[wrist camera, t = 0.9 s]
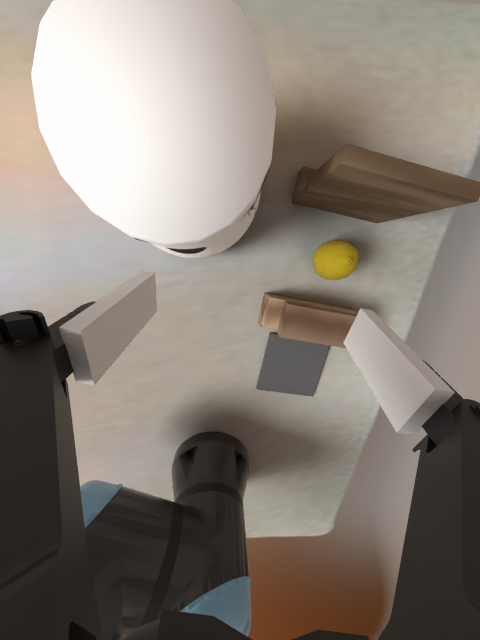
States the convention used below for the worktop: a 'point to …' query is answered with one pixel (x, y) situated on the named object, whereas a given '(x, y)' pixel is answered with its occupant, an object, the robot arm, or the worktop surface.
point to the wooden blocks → (367, 204)
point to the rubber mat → (291, 365)
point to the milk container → (158, 116)
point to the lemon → (335, 259)
